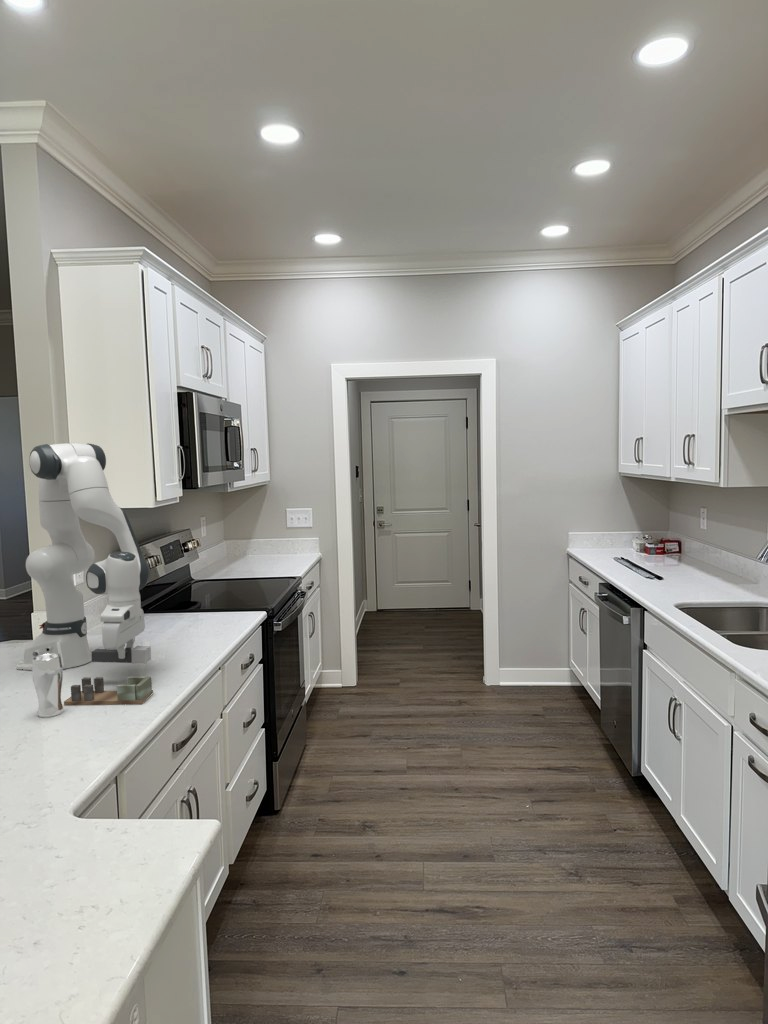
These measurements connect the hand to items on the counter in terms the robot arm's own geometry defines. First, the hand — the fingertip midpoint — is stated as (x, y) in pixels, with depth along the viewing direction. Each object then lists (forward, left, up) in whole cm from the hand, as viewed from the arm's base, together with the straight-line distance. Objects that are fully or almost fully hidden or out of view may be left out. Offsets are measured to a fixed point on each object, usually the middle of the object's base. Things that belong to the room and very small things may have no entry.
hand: (125, 655), depth 197 cm
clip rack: (-1, -12, -9) cm, 15 cm away
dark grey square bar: (-3, 0, -2) cm, 3 cm away
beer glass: (-11, -21, -9) cm, 26 cm away
